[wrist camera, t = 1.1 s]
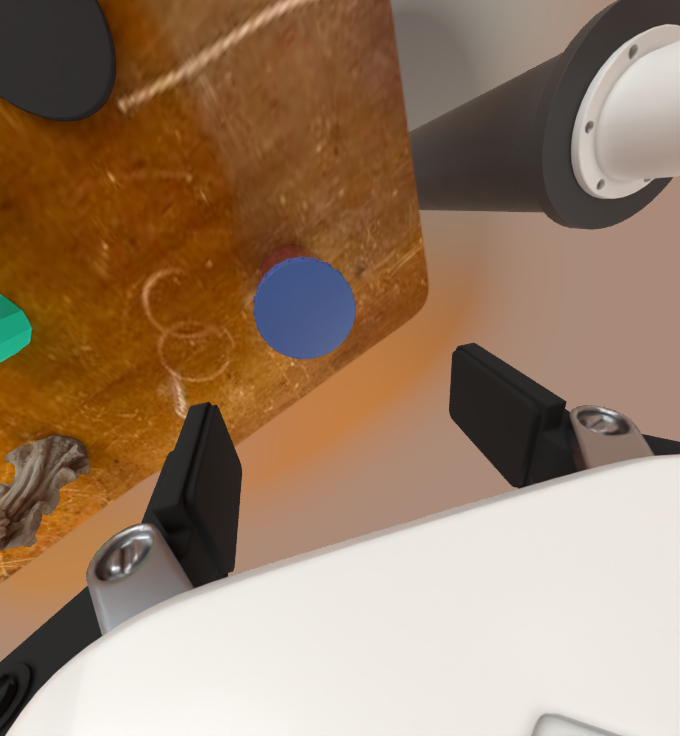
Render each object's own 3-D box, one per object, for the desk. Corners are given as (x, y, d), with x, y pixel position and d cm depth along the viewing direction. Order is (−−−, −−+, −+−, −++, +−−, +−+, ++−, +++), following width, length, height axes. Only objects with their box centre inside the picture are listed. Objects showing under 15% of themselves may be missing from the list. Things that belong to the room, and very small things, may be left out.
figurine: (15, 468, 33) (-151, 642, 20) (10, 422, 30) (-182, 584, 17) (97, 473, 35) (-1, 631, 22) (99, 432, 33) (-10, 580, 20)
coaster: (71, -81, 18) (63, -93, 17) (139, 114, 22) (135, 111, 22) (-107, -77, 17) (-123, -89, 16) (2, 128, 21) (-7, 125, 20)
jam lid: (344, 247, 21) (350, 251, 19) (355, 340, 24) (360, 349, 23) (241, 265, 20) (240, 270, 18) (267, 359, 23) (267, 369, 22)
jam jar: (320, 239, 29) (345, 254, 20) (329, 305, 32) (355, 344, 23) (251, 251, 28) (245, 272, 19) (268, 317, 31) (270, 362, 22)
